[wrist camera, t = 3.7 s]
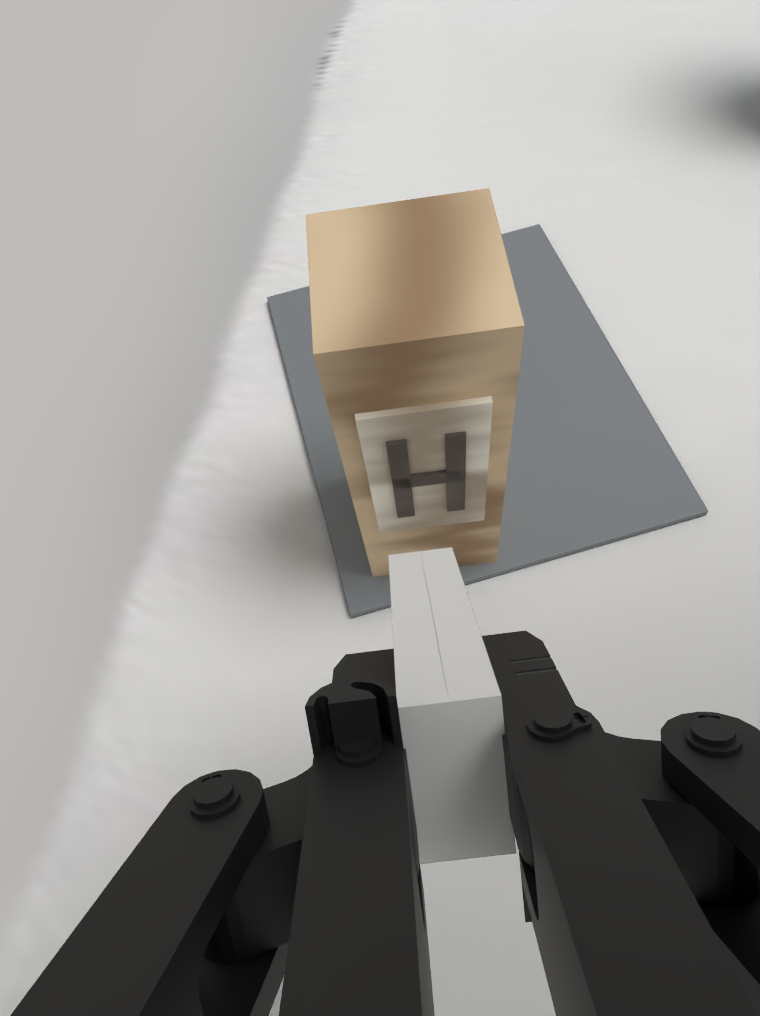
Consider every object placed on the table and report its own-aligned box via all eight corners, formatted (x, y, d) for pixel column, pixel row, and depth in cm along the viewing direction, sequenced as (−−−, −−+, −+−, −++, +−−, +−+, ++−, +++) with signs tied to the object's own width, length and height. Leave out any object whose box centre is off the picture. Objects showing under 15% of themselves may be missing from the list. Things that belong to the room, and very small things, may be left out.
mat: (538, 229, 45) (539, 224, 44) (705, 515, 34) (708, 511, 34) (268, 302, 44) (267, 297, 44) (351, 618, 33) (350, 615, 33)
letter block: (476, 458, 36) (489, 188, 22) (498, 569, 33) (527, 336, 19) (363, 472, 37) (305, 214, 23) (373, 584, 33) (313, 364, 19)
